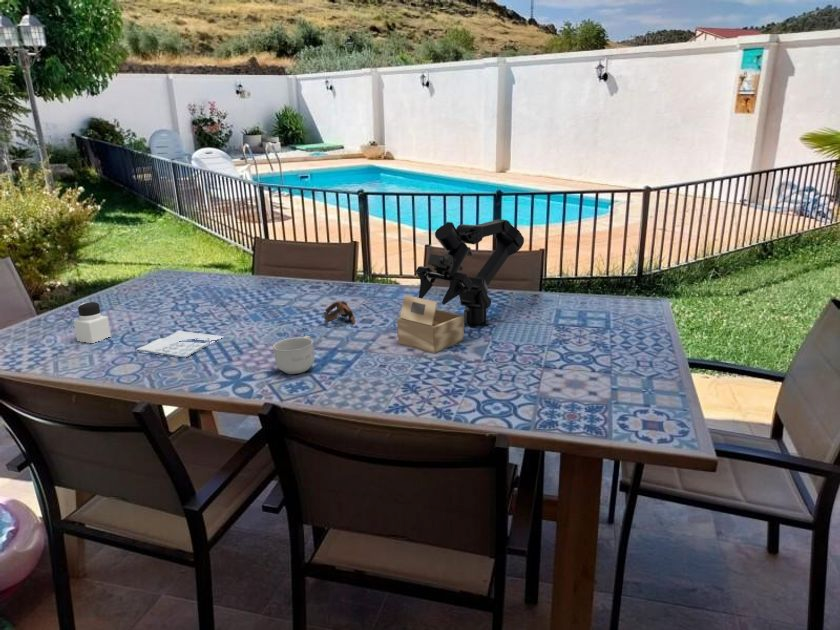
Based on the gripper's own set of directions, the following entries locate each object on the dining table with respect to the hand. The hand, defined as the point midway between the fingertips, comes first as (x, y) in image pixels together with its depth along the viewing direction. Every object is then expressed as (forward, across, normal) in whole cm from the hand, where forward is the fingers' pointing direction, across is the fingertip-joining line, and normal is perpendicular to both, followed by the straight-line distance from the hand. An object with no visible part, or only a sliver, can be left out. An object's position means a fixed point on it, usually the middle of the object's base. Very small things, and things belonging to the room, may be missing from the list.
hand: (431, 301), depth 190 cm
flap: (+5, 0, -3) cm, 6 cm away
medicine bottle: (+56, -86, -36) cm, 109 cm away
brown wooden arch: (+12, -37, +7) cm, 40 cm away
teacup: (+37, -15, -18) cm, 44 cm away
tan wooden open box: (+9, 0, +9) cm, 13 cm away
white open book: (+45, -59, -25) cm, 78 cm away
